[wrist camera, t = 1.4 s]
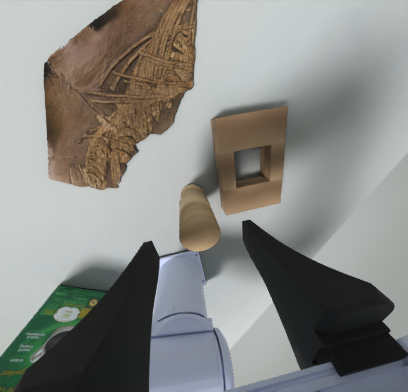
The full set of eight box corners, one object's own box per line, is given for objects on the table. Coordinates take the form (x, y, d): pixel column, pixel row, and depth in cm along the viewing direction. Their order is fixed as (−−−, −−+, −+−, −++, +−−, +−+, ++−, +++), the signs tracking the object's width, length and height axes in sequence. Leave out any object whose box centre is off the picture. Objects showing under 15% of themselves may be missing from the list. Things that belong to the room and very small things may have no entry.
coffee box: (54, 294, 24) (-64, 449, 12) (57, 283, 23) (-68, 438, 12) (107, 300, 27) (49, 435, 15) (110, 290, 26) (52, 425, 14)
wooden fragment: (101, 206, 20) (97, 210, 19) (1, 147, 15) (-10, 148, 14) (244, 40, 15) (248, 34, 14) (157, -114, 11) (155, -138, 10)
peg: (206, 202, 22) (222, 246, 13) (182, 208, 21) (184, 255, 13) (202, 180, 20) (218, 213, 12) (176, 185, 20) (174, 223, 12)
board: (270, 195, 23) (280, 203, 21) (221, 206, 22) (226, 215, 20) (274, 108, 18) (287, 105, 15) (210, 119, 17) (215, 118, 15)
